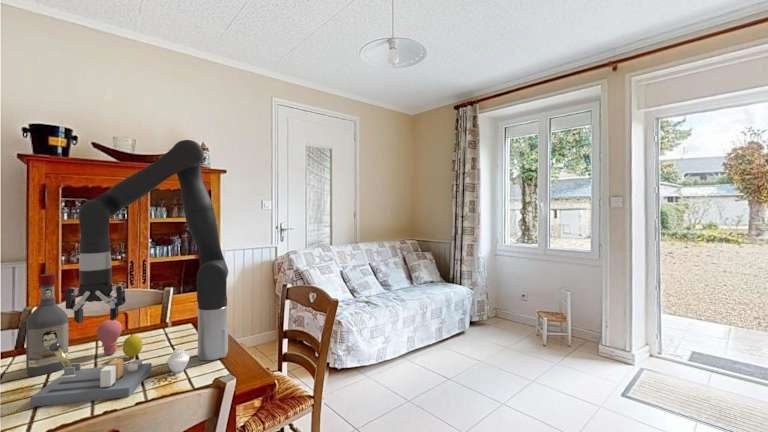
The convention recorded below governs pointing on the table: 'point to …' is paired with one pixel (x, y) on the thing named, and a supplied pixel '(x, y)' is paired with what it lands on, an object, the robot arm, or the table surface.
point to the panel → (90, 385)
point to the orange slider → (117, 367)
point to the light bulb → (109, 335)
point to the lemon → (132, 345)
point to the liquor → (45, 331)
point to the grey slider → (107, 376)
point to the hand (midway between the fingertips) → (96, 321)
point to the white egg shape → (178, 360)
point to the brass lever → (60, 354)
